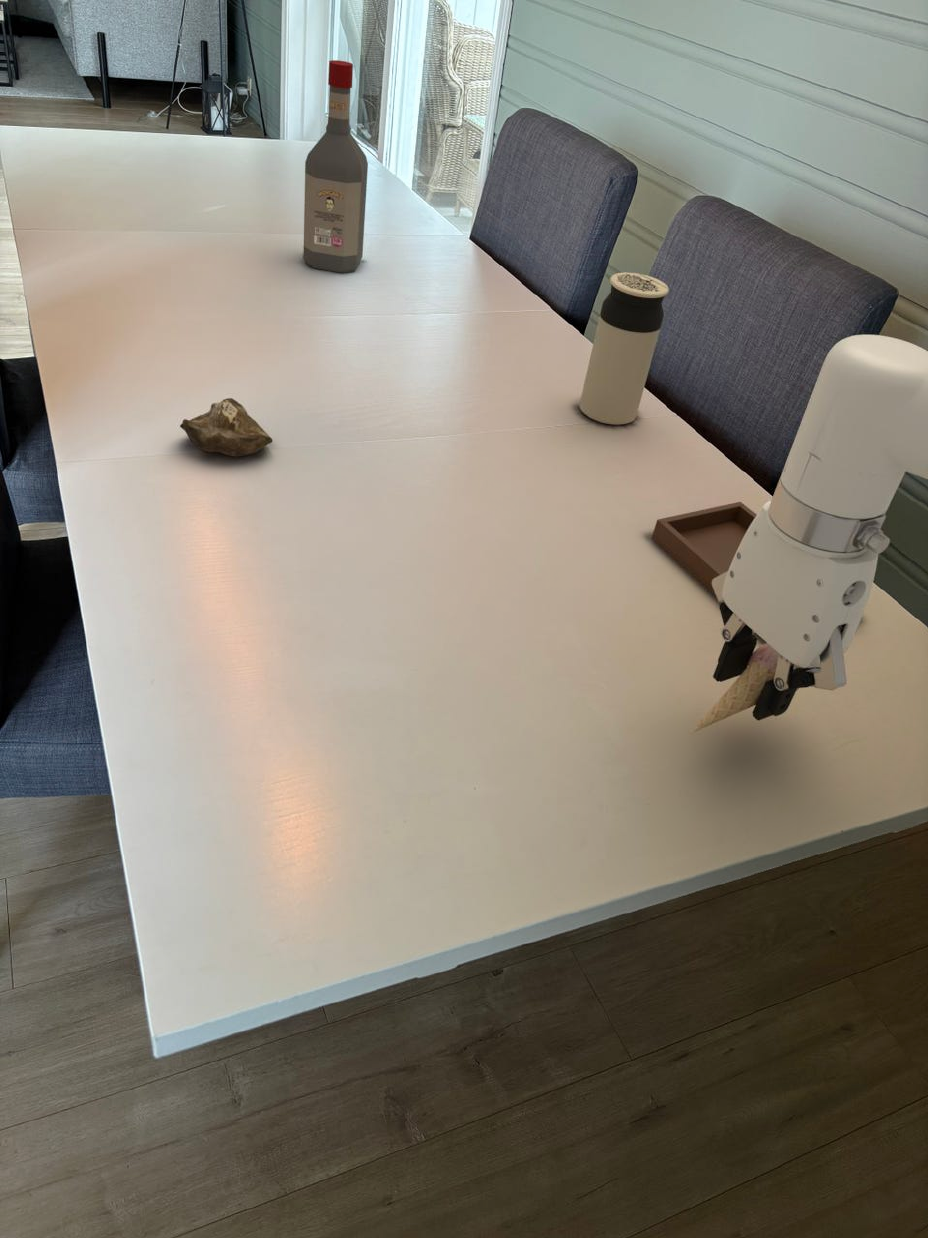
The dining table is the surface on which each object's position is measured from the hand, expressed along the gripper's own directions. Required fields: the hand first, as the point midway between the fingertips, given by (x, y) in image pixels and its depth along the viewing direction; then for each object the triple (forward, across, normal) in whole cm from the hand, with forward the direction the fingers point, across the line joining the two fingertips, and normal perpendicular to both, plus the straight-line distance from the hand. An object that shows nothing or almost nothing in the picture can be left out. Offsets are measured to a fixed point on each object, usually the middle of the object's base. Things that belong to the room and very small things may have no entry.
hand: (748, 693), depth 77 cm
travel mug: (+5, +54, -25) cm, 60 cm away
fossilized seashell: (+4, +58, +27) cm, 64 cm away
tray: (+5, +18, -18) cm, 26 cm away
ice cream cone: (+1, -1, 0) cm, 1 cm away
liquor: (+4, +114, -10) cm, 115 cm away
